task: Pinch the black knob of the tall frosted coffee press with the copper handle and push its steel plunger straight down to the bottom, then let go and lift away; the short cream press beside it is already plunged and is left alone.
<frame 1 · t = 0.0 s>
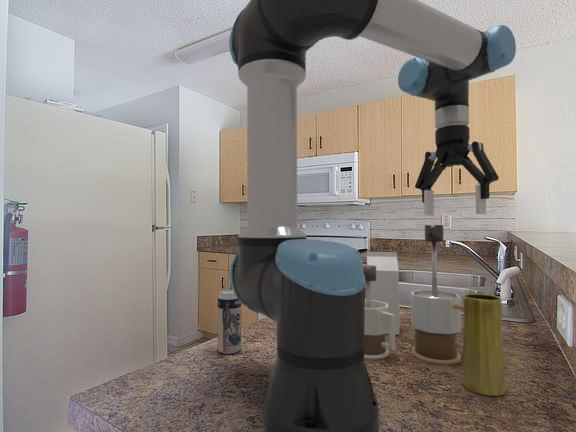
hand: (453, 214, 82), 28 cm above the table, fingers open, 13 cm apart
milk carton: (382, 330, 83), on the table
plunger: (434, 261, 67), point 18 cm above the table, slide at 0.0 cm
press copper: (435, 355, 67), on the table
press cream: (368, 352, 69), on the table
beer can: (229, 351, 70), on the table
vase: (483, 388, 54), on the table
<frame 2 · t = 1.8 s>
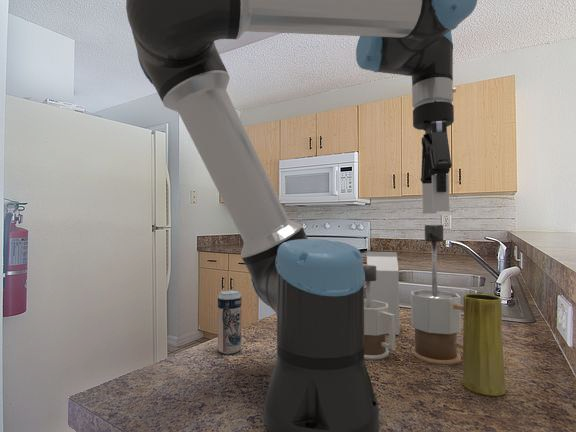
hand: (434, 212, 68), 28 cm above the table, fingers open, 13 cm apart
nothing on the table moved.
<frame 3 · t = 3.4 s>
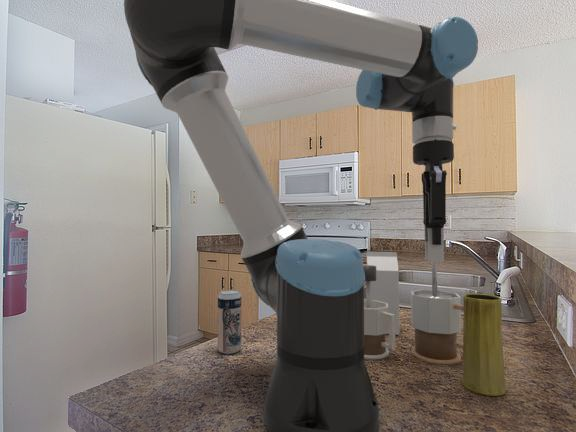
hand: (434, 260, 67), 19 cm above the table, fingers closed on plunger, 3 cm apart
plunger: (434, 261, 67), point 18 cm above the table, slide at 0.0 cm, touching gripper
everything else where it was.
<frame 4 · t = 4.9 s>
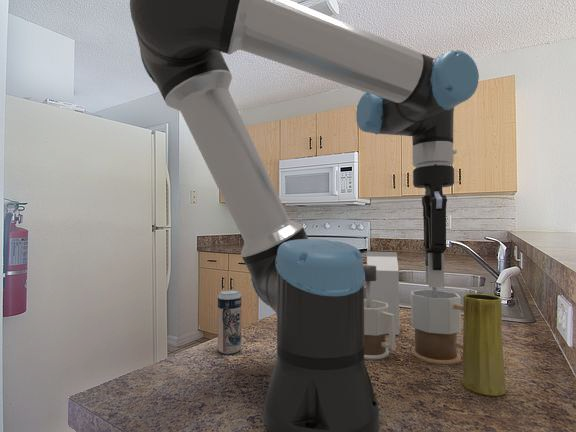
hand: (434, 284, 67), 14 cm above the table, fingers closed on plunger, 3 cm apart
plunger: (434, 285, 67), point 14 cm above the table, slide at 4.8 cm, touching gripper
everything else where it was.
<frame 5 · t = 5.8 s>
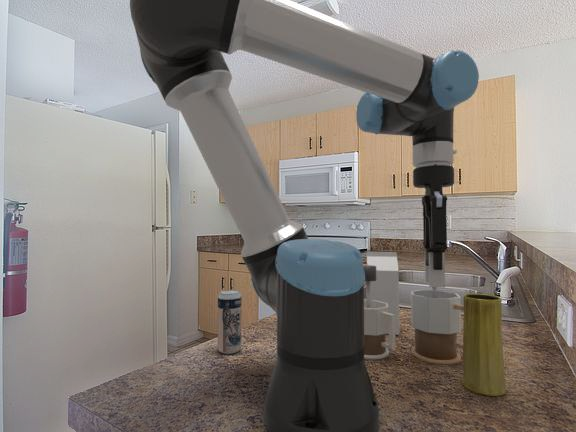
hand: (434, 284, 67), 14 cm above the table, fingers open, 5 cm apart
plunger: (434, 285, 67), point 14 cm above the table, slide at 4.8 cm
everything else where it was.
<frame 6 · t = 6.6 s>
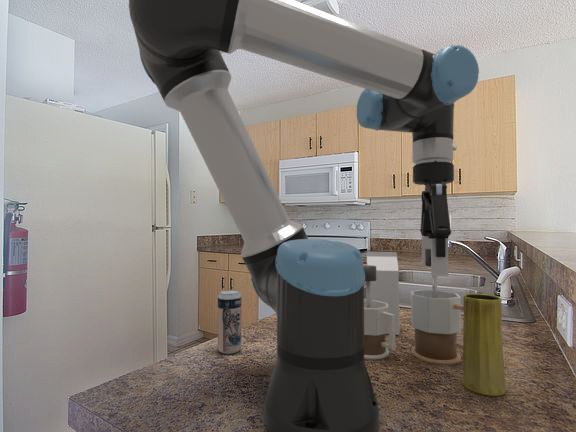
hand: (433, 270, 67), 17 cm above the table, fingers open, 13 cm apart
nothing on the table moved.
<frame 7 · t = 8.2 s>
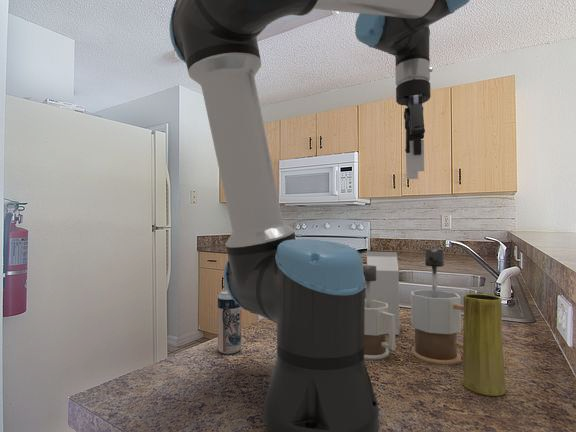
hand: (414, 175, 79), 37 cm above the table, fingers open, 13 cm apart
nothing on the table moved.
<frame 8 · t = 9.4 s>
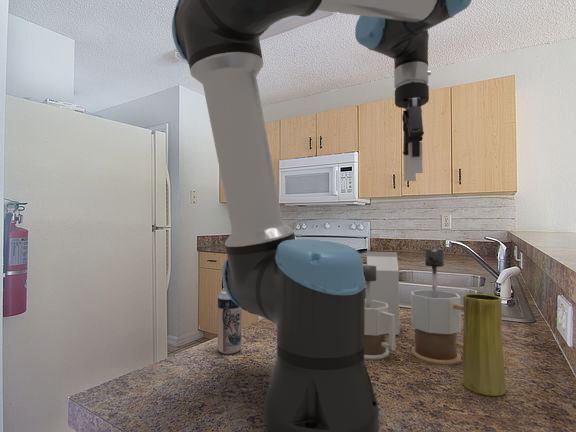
hand: (412, 177, 79), 37 cm above the table, fingers open, 13 cm apart
nothing on the table moved.
at the end: plunger slide at 4.8 cm; the gripper is holding nothing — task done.
